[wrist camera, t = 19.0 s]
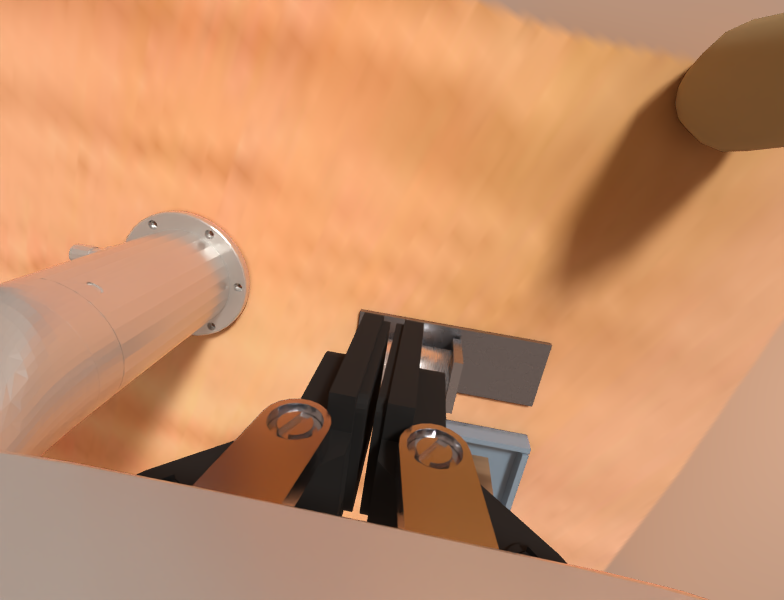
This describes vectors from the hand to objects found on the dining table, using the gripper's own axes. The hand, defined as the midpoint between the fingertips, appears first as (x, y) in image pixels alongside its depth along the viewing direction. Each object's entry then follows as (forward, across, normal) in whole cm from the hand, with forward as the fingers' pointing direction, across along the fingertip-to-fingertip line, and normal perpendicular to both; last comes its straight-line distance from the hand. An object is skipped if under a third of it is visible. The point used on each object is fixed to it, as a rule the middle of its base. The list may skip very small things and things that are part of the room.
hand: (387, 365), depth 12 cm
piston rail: (+27, -5, +14) cm, 31 cm away
